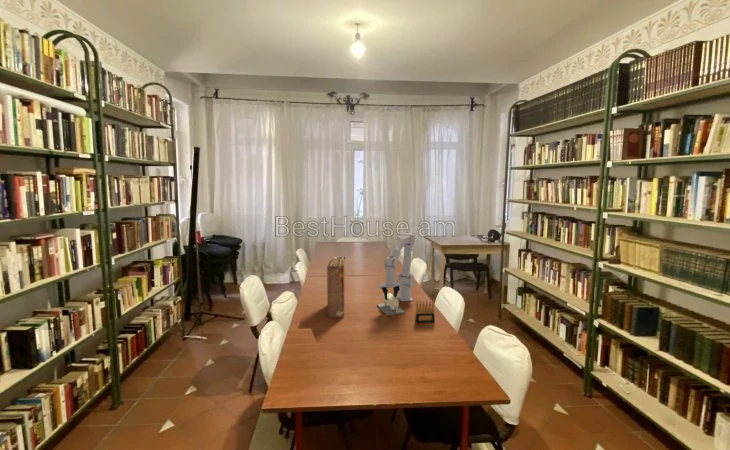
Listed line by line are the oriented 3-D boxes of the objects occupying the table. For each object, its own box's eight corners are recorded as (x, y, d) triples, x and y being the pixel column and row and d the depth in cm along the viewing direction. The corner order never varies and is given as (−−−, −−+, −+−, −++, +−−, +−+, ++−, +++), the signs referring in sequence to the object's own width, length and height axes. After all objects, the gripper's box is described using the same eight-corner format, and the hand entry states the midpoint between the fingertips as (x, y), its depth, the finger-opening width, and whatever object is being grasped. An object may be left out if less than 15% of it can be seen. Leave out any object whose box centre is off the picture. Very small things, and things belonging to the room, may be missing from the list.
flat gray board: (377, 305, 237) (377, 299, 237) (393, 304, 240) (393, 297, 240) (386, 315, 220) (386, 308, 220) (404, 313, 223) (404, 306, 223)
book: (330, 303, 241) (329, 257, 238) (344, 303, 242) (344, 257, 238) (327, 318, 216) (327, 266, 213) (343, 317, 216) (343, 266, 213)
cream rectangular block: (382, 299, 236) (382, 293, 235) (390, 299, 237) (390, 293, 236) (390, 307, 222) (390, 300, 222) (398, 306, 224) (398, 299, 223)
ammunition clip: (415, 322, 209) (416, 301, 208) (414, 321, 211) (415, 300, 210) (434, 322, 210) (435, 301, 209) (433, 321, 212) (434, 300, 210)
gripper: (381, 279, 222) (381, 302, 224) (404, 277, 226) (404, 300, 228) (377, 276, 229) (377, 298, 230) (400, 275, 233) (399, 296, 234)
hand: (390, 299), depth 229 cm, fingers closed on cream rectangular block, 5 cm apart
